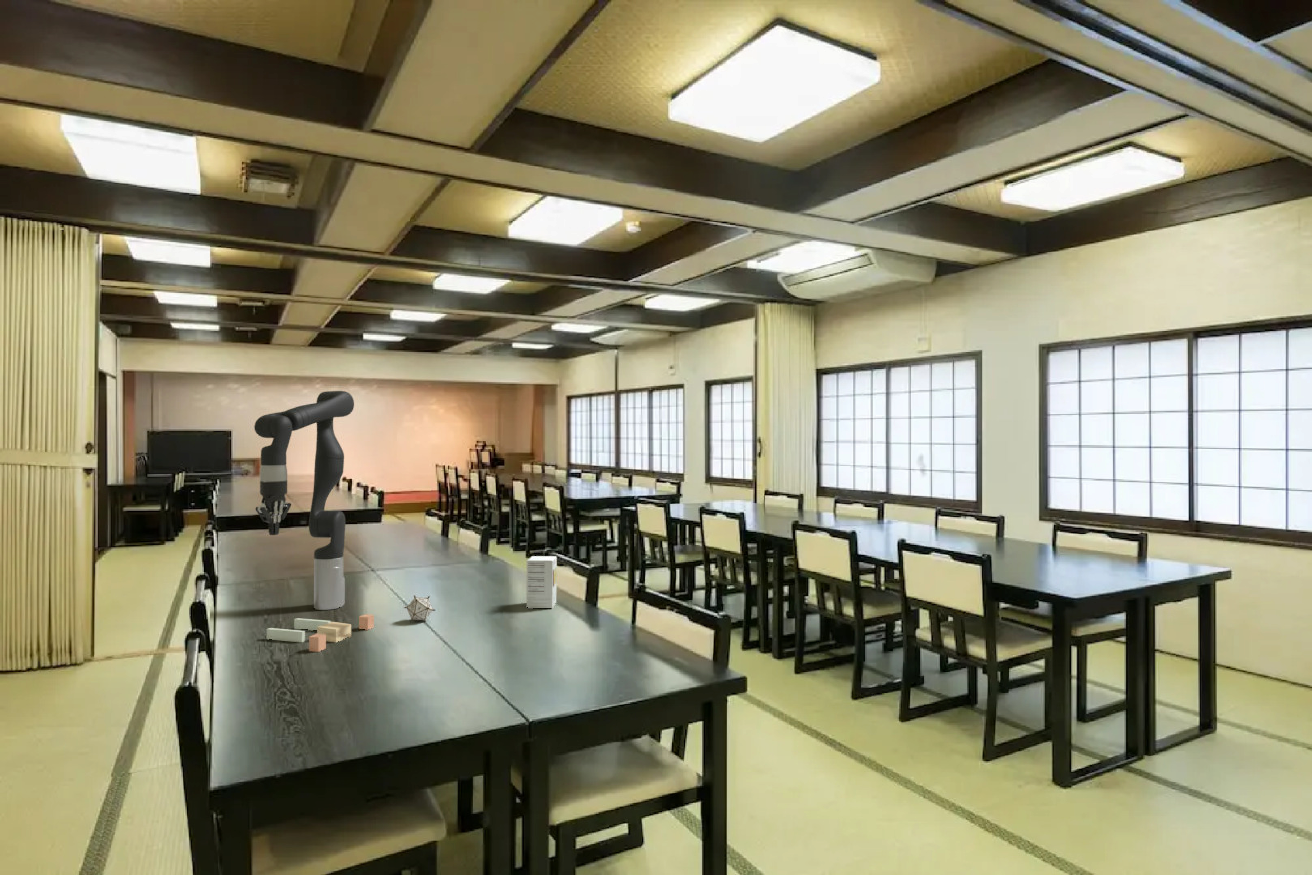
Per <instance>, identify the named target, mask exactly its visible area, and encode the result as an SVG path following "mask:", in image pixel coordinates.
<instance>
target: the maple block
mask: <svg viewBox="0 0 1312 875" xmlns="http://www.w3.org/2000/svg"><path fill="white" fill-rule="evenodd" d="M316 634H326V642H330V643H339V642H341V641H344V640H346V639H345V638H347V637H349V638H351V637H352V624H351V623H344V622H336V621H331V622H330V623H327V624H324V625H321V626H318V627H317V631H316ZM343 639H344V640H343ZM347 639H348V638H347ZM338 641H339V642H338Z"/></svg>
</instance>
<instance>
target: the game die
mask: <svg viewBox="0 0 1312 875" xmlns="http://www.w3.org/2000/svg"><path fill="white" fill-rule="evenodd" d="M429 598H430V595H428V596H427V597H416V595H413V599H412V600H411V601H410V603H409V604H408V605H407V606H404V607H403V609H406V610H407V612H408V615H409V617H410V620H409V622H410V623H411V621H424V623H425V622H427V621H426V620H427V618H428V617H429V616H430V614H432V612H433V611H434V612H435V611H436V609H435V608H434V609H433V606H432V604H431V602H430V601H431V600H430V599H429Z"/></svg>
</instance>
